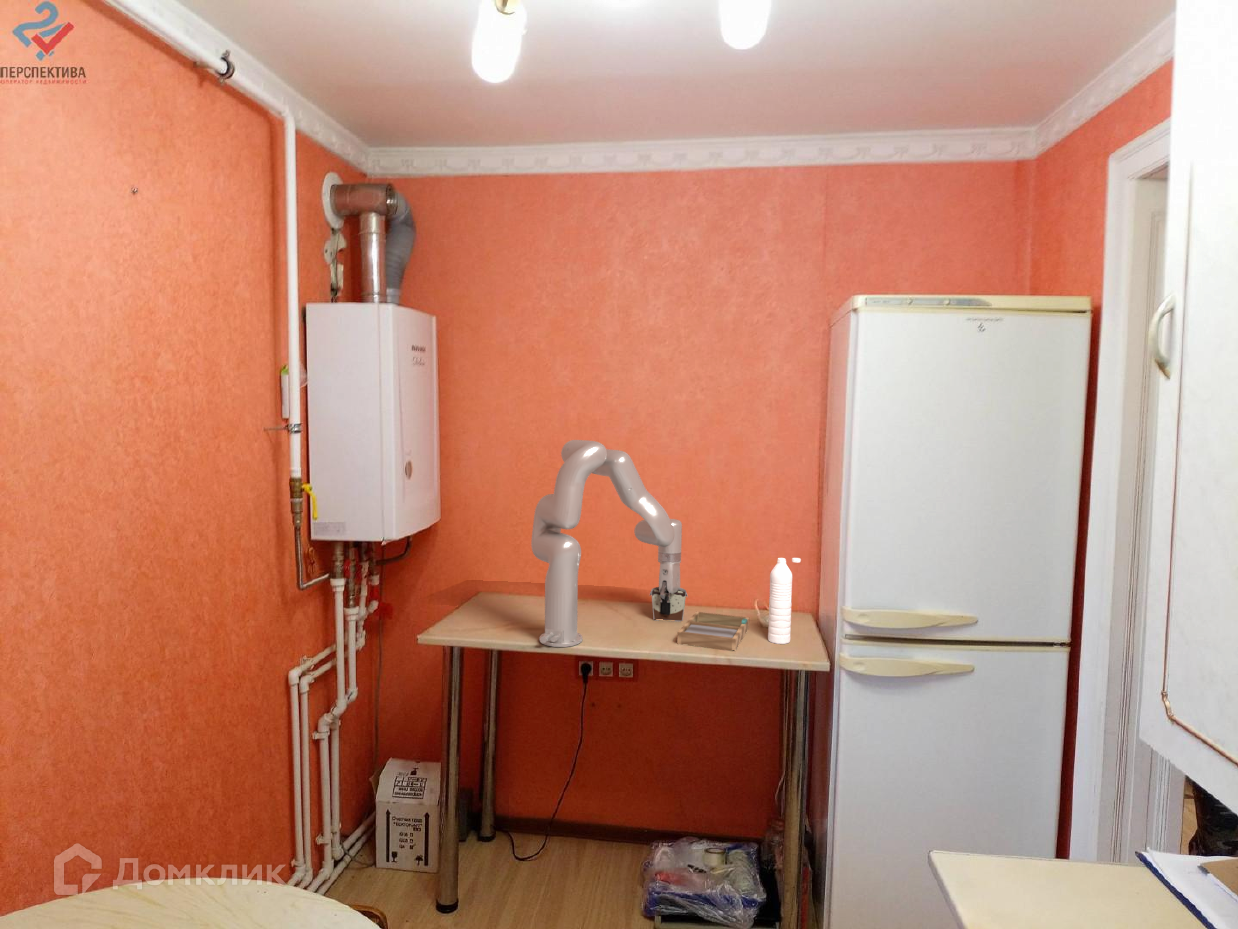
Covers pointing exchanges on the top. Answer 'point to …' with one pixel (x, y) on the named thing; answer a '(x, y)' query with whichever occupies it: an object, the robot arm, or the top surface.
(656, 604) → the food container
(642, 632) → the top surface
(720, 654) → the top surface
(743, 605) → the top surface
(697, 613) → the compartment tray
